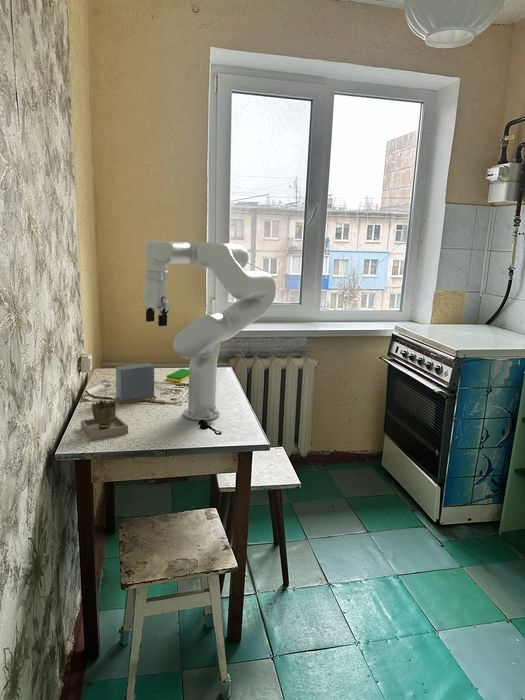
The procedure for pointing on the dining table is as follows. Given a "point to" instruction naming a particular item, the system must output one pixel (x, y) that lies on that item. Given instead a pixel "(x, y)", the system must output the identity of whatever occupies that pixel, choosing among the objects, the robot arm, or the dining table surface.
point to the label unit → (134, 383)
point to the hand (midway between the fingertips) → (156, 323)
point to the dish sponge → (178, 375)
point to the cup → (104, 413)
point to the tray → (96, 433)
